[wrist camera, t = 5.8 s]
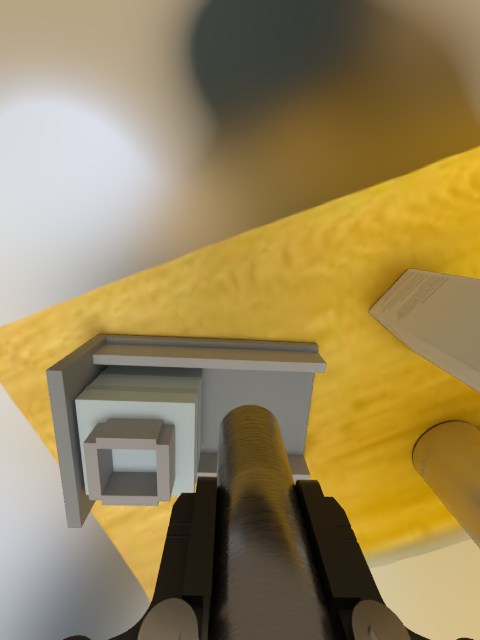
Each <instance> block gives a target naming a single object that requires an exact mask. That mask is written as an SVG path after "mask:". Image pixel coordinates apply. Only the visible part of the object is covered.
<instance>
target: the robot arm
mask: <svg viewBox="0 0 480 640" xmlns="http://www.w3.org/2000/svg"><path fill="white" fill-rule="evenodd" d="M413 464H414V466H415V469H416V470H417V471H418V473H419V474H420V475H421V476H422V478H423V479H424V480H425V481H426V483H427V484H428V485H429V486H430V488H431V489H432V490H433V491H434V493H435V494H436V495H437V496H438V498H439V499H440V500H441V501H442V503H443V504H444V505H445V506H446V508H447V509H448V510H449V511H450V512H451V514H452V515H453V516H454V517H455V519H456V520H457V521H458V522H459V524H460V525H461V526H462V527H463V528H464V530H465V531H466V532H467V533H468V535H469V536H470V537H471V538H472V540H473V541H474V542H475V543H476V544H477V546H478V547H479V548H480V430H479V429H478V428H476V427H475V426H473V425H471V424H469V423H466V422H461V421H452V422H446V423H443V424H440V425H438V426H436V427H434V428H432V429H430V430H429V431H428V432H426V433H425V434H424V435H423V436H422V437H421V438H420V440H419V441H418V443H417V444H416V446H415V449H414V452H413ZM217 478H218V477H206V476H198V480H197V487H196V493H181V495H180V496H179V498H178V499H177V501H176V502H175V504H174V505H173V508H172V513H171V517H170V523H169V527H168V531H167V537H166V541H165V545H164V550H163V555H162V559H161V564H160V569H159V573H158V578H157V583H156V587H155V592H154V596H153V599H152V601H151V604H150V606H149V608H148V610H147V611H146V613H145V614H144V616H143V617H142V618H141V619H140V621H139V622H138V623H137V624H136V625H134V626H133V627H132V628H131V629H129V630H128V631H126V632H125V633H123V634H121V635H118V636H116V637H114V638H111V639H109V640H207V637H208V624H209V620H210V610H211V595H212V576H213V556H214V537H215V517H216V498H217ZM295 487H296V491H297V494H298V498H299V502H300V506H301V509H302V513H303V517H304V520H305V524H306V528H307V532H308V535H309V539H310V543H311V546H312V550H313V554H314V558H315V561H316V565H317V569H318V573H319V576H320V580H321V584H322V587H323V591H324V595H325V599H326V602H327V606H328V610H329V613H330V617H331V621H332V625H333V628H334V632H335V636H336V639H337V640H430V639H427V638H425V637H422V636H420V635H418V634H415V633H414V632H412V631H411V630H409V629H408V628H406V627H405V626H404V625H403V623H402V622H401V620H400V619H399V618H398V617H397V616H396V614H395V613H393V612H392V611H391V610H390V609H389V608H388V607H387V606H386V605H385V603H384V601H383V599H382V597H381V595H380V593H379V591H378V589H377V586H376V584H375V581H374V579H373V577H372V574H371V572H370V570H369V567H368V565H367V562H366V560H365V558H364V555H363V553H362V551H361V548H360V546H359V544H358V543H357V539H356V537H355V534H354V532H353V530H352V529H351V525H350V523H349V520H348V518H347V516H346V513H345V511H344V509H343V508H342V507H341V506H340V505H339V504H338V502H337V501H336V500H335V499H334V498H333V497H324V495H323V492H322V490H321V487H320V484H319V482H318V481H317V480H297V481H296V484H295ZM63 640H91V639H89V638H87V637H86V636H81V635H78V636H71V637H68V638H66V639H63ZM457 640H473V639H469V638H459V639H457Z"/></svg>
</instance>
